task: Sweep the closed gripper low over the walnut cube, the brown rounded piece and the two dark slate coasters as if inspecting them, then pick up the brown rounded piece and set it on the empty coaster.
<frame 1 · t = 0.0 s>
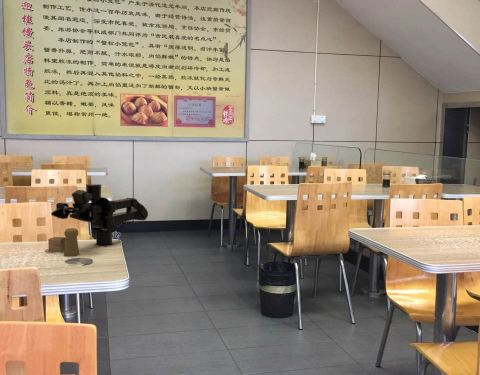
hand: (60, 215, 203), 17 cm above the table, tool horizontal, fingers open, 9 cm apart
brown rounded piece: (71, 257, 206), on the table
coaster empty: (78, 262, 197), on the table
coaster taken: (57, 251, 213), on the table
walnut cube: (57, 250, 213), point 1 cm above the table, touching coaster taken
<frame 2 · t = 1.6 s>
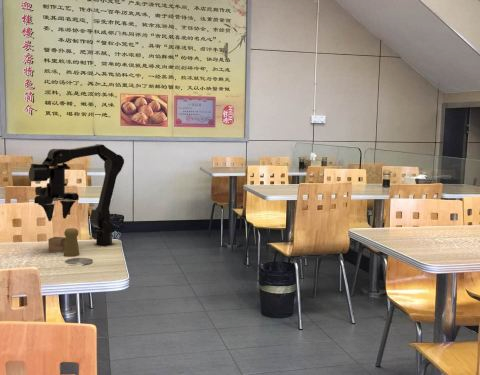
hand: (57, 219, 212), 13 cm above the table, tool pointing down, fingers open, 8 cm apart
nothing on the table moved.
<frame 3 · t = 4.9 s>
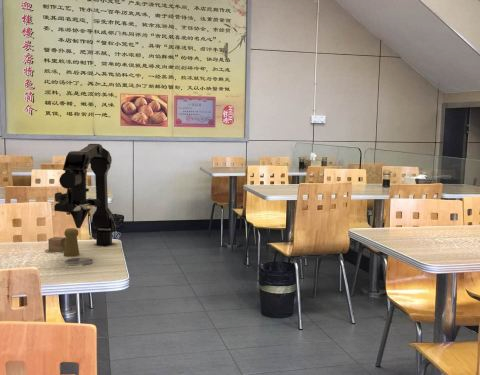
hand: (78, 228, 196), 13 cm above the table, tool pointing down, fingers closed
nothing on the table moved.
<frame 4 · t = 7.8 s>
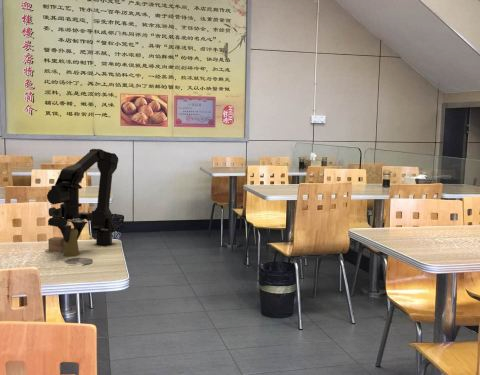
hand: (71, 241, 206), 6 cm above the table, tool pointing down, fingers closed on brown rounded piece, 5 cm apart
brown rounded piece: (71, 256, 206), on the table, touching gripper
everything else where it was.
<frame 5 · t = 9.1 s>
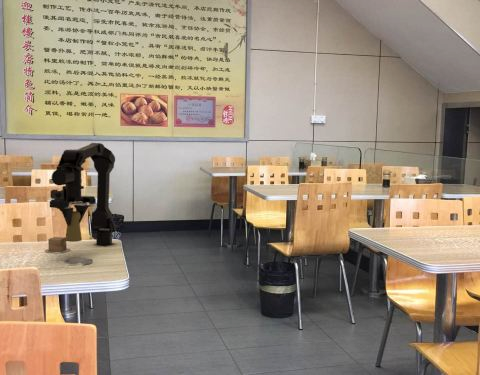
hand: (73, 224, 201), 13 cm above the table, tool pointing down, fingers closed on brown rounded piece, 5 cm apart
brown rounded piece: (73, 240, 202), point 7 cm above the table, touching gripper
everything else where it was.
when the fingers open (8 cm above the table, at t = 10.8 s): brown rounded piece drops 1 cm, resting on coaster empty.
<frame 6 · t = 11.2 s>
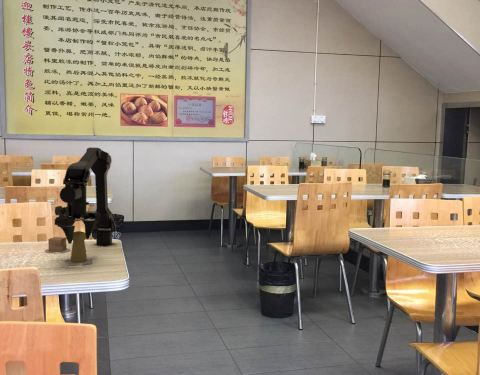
hand: (78, 241, 196), 8 cm above the table, tool pointing down, fingers open, 9 cm apart
brown rounded piece: (78, 261, 197), resting on coaster empty
everything else where it was.
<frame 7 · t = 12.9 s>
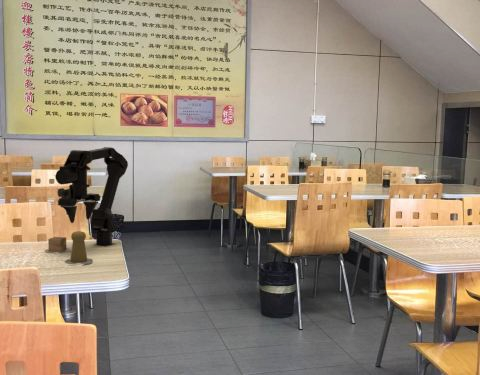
hand: (80, 221, 212), 13 cm above the table, tool pointing down, fingers open, 9 cm apart
nothing on the table moved.
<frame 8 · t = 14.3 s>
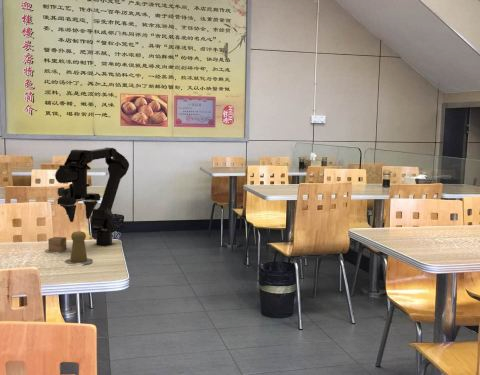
hand: (79, 220, 212), 13 cm above the table, tool pointing down, fingers open, 9 cm apart
nothing on the table moved.
at the end: brown rounded piece 0.1 cm from the coaster empty (horizontally); brown rounded piece tilted 0°; brown rounded piece resting on coaster empty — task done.
